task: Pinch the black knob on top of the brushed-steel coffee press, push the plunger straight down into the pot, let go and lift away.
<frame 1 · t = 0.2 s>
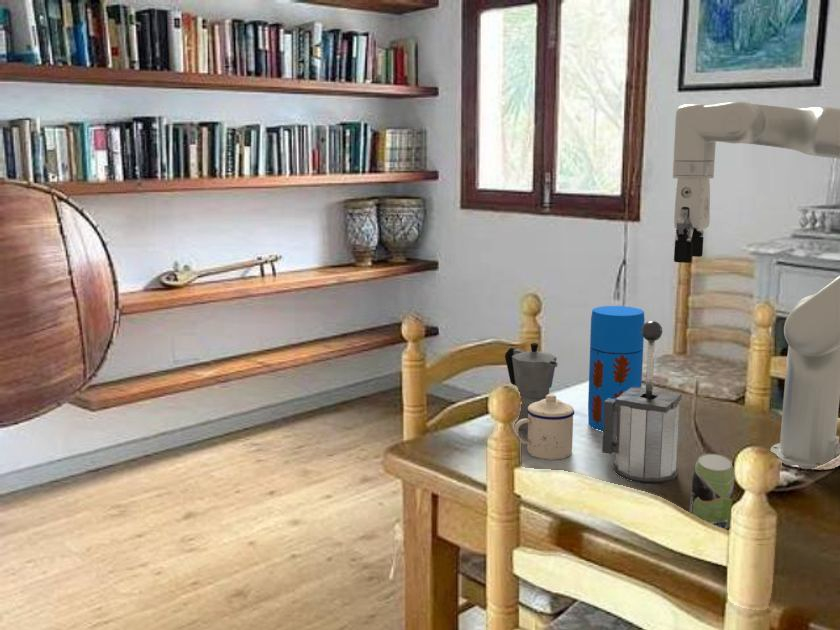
hand: (688, 259, 165), 37 cm above the table, tool pointing down, fingers open, 9 cm apart
beverage can: (709, 530, 132), on the table
thermos: (613, 426, 181), on the table
teacup with lid: (542, 454, 165), on the table
plunger: (650, 369, 151), point 20 cm above the table, slide at 0.0 cm
coffeepot: (529, 423, 183), on the table
press pot: (645, 471, 155), on the table
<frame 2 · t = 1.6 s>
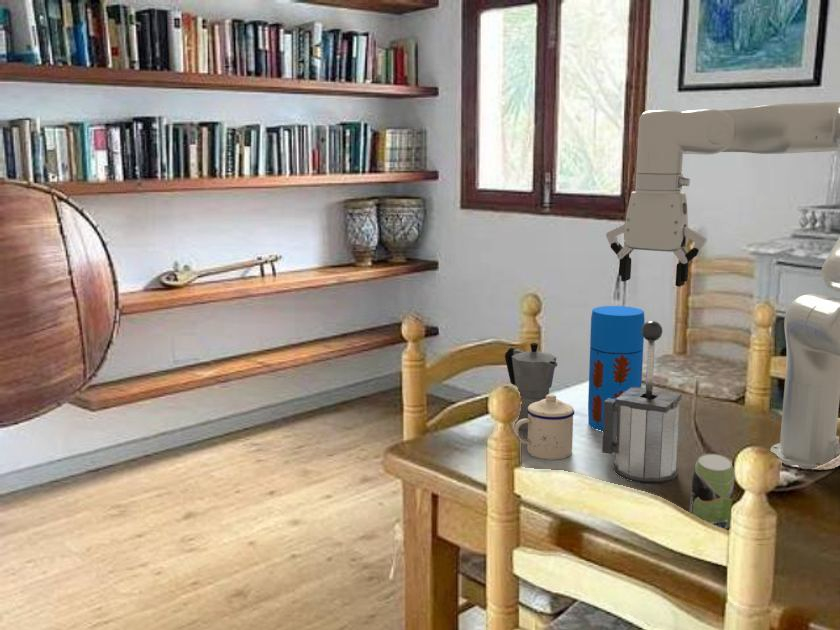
hand: (652, 282, 148), 35 cm above the table, tool pointing down, fingers open, 9 cm apart
nothing on the table moved.
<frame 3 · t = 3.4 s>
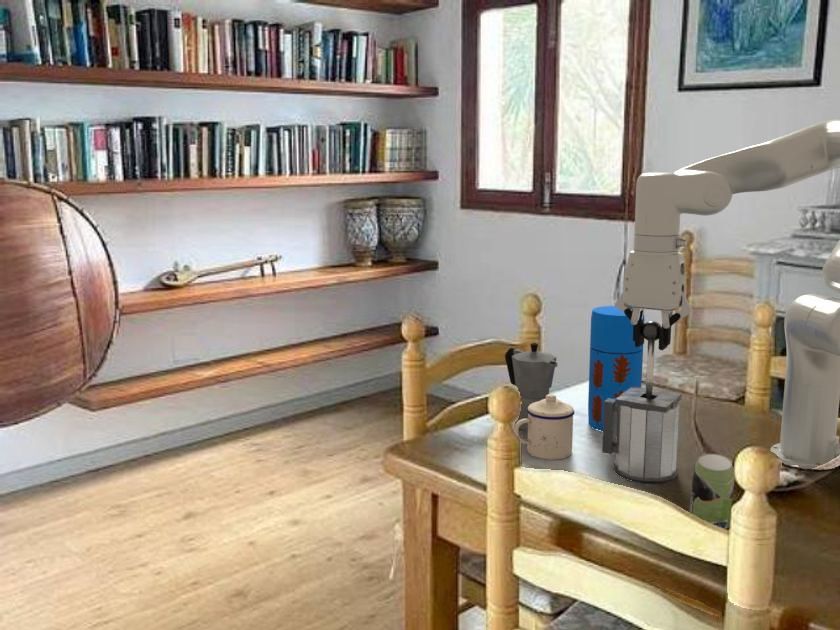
hand: (651, 346, 150), 24 cm above the table, tool pointing down, fingers closed on plunger, 3 cm apart
plunger: (650, 369, 151), point 19 cm above the table, slide at 0.0 cm, touching gripper
everything else where it was.
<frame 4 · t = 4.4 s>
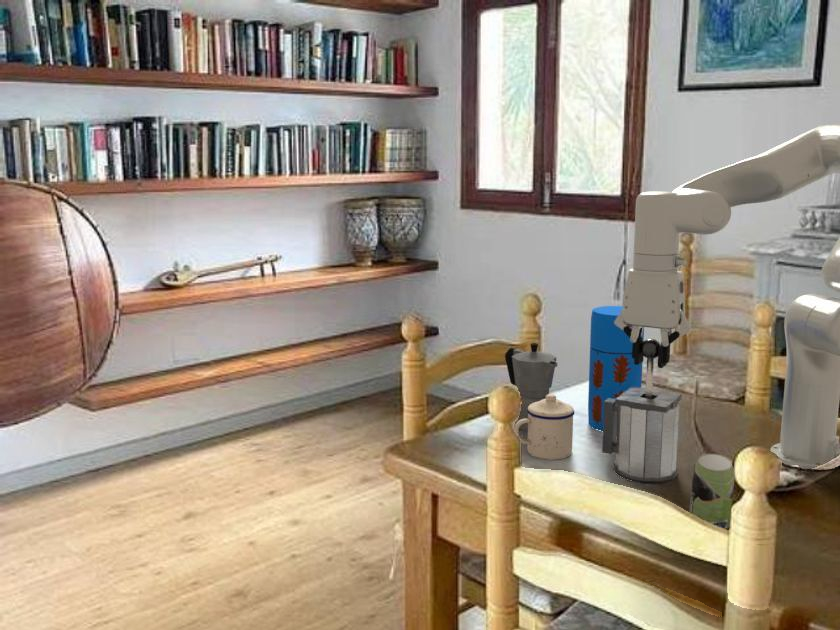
hand: (650, 363, 151), 20 cm above the table, tool pointing down, fingers closed on plunger, 3 cm apart
plunger: (649, 386, 152), point 16 cm above the table, slide at 3.3 cm, touching gripper
everything else where it was.
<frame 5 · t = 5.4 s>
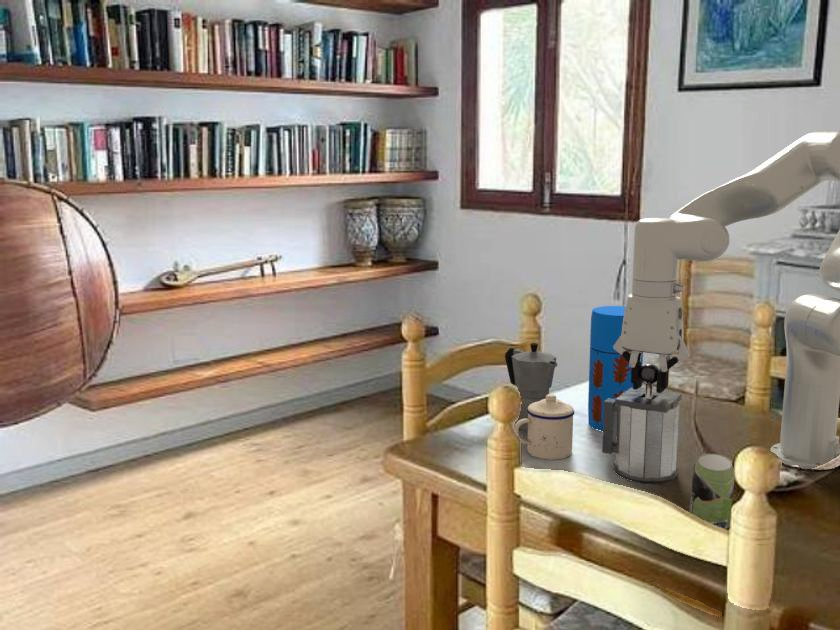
hand: (649, 388, 152), 16 cm above the table, tool pointing down, fingers closed on plunger, 3 cm apart
plunger: (648, 411, 153), point 12 cm above the table, slide at 7.9 cm, touching gripper
everything else where it was.
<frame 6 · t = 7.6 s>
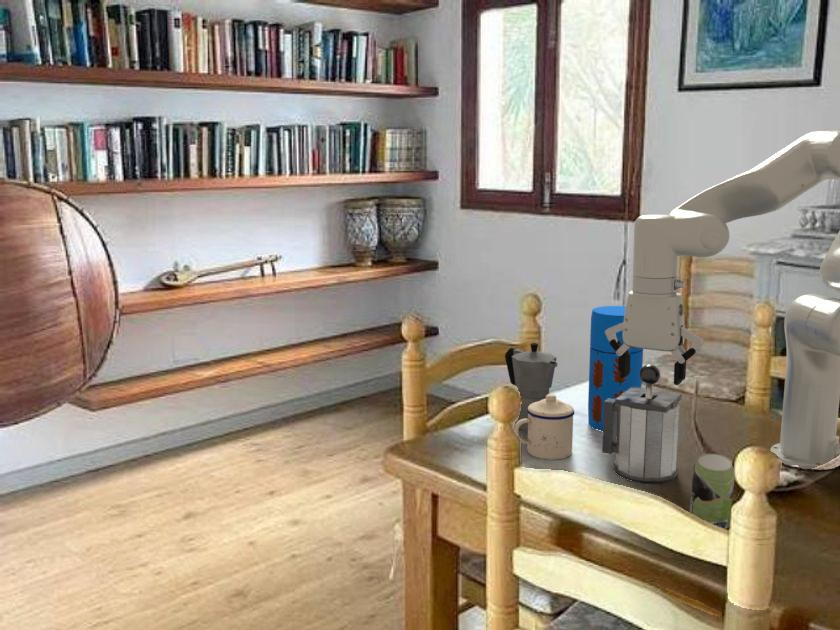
hand: (651, 379, 152), 18 cm above the table, tool pointing down, fingers open, 9 cm apart
plunger: (648, 411, 153), point 11 cm above the table, slide at 8.0 cm
everything else where it was.
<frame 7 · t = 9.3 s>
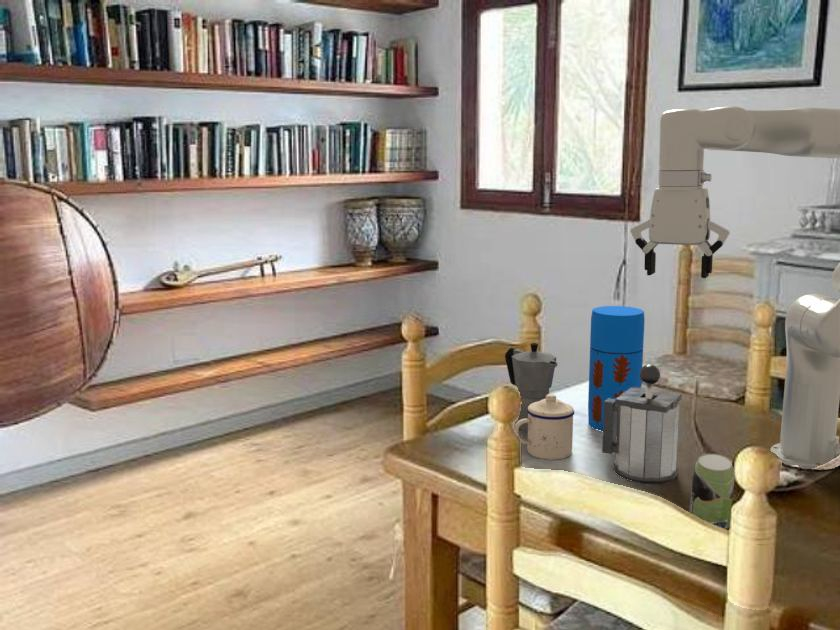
hand: (677, 275, 153), 36 cm above the table, tool pointing down, fingers open, 9 cm apart
nothing on the table moved.
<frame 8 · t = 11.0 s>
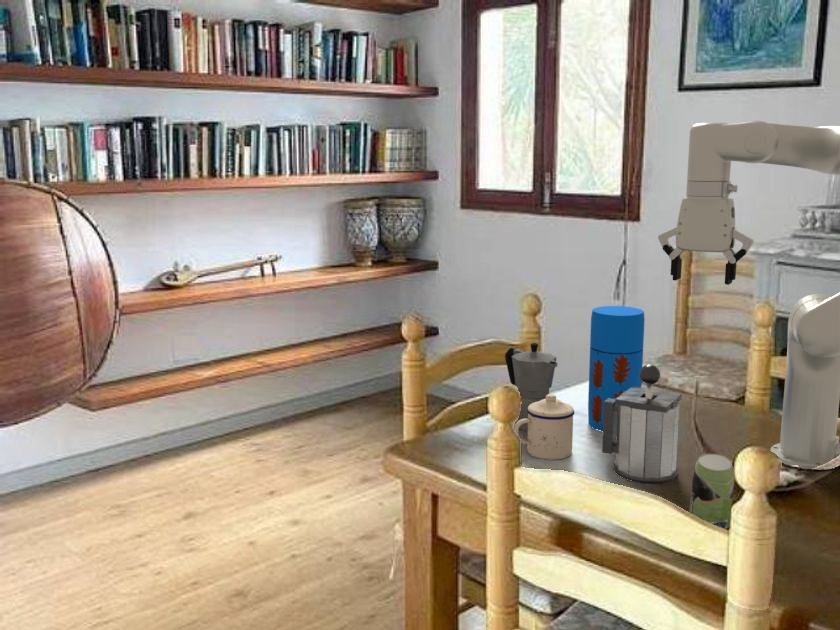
hand: (702, 281, 160), 33 cm above the table, tool pointing down, fingers open, 9 cm apart
nothing on the table moved.
at the end: plunger slide at 8.0 cm; the gripper is holding nothing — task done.
